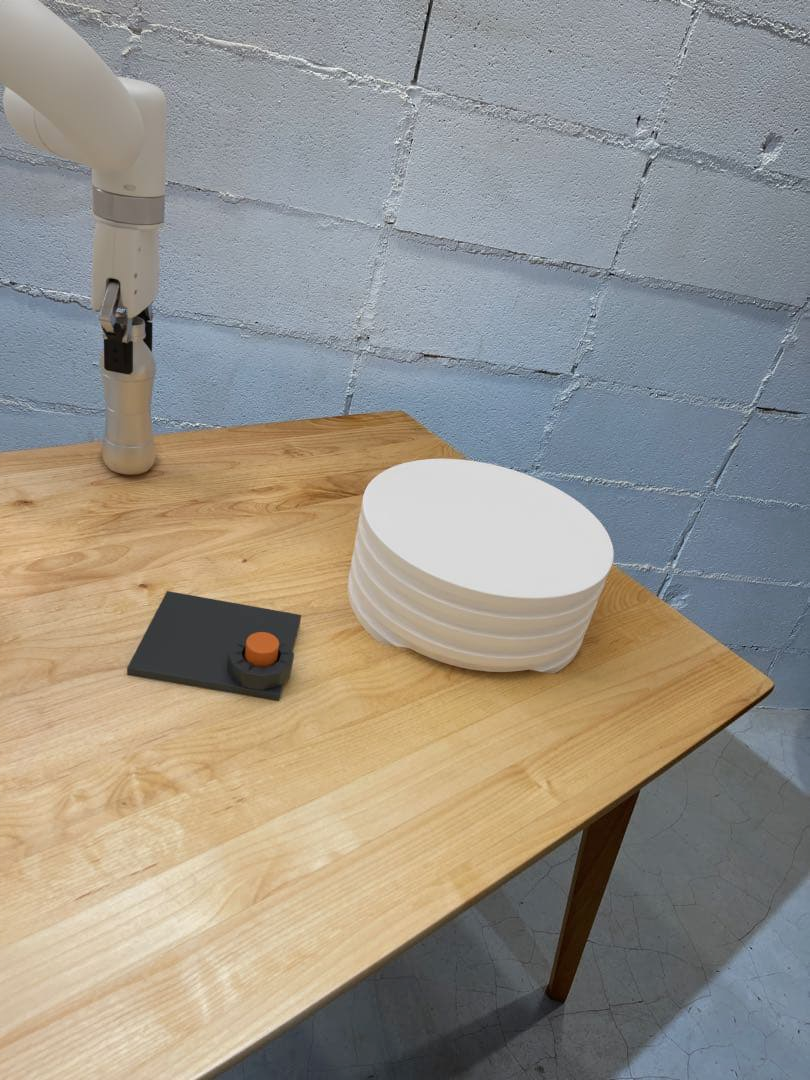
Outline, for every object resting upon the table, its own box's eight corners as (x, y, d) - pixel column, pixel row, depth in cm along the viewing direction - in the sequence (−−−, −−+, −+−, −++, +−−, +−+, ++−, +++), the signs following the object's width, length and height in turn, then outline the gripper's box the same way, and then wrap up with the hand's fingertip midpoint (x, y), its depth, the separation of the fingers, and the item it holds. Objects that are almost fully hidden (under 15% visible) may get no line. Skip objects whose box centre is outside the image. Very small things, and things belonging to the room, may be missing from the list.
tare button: (241, 664, 75) (243, 649, 74) (248, 643, 77) (250, 629, 76) (274, 670, 75) (275, 655, 74) (280, 649, 77) (281, 634, 76)
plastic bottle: (143, 485, 104) (144, 334, 93) (92, 473, 104) (88, 321, 94) (163, 464, 109) (167, 319, 99) (115, 452, 110) (113, 306, 99)
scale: (126, 685, 75) (126, 652, 73) (166, 607, 85) (167, 576, 83) (282, 712, 76) (287, 680, 73) (303, 631, 86) (307, 601, 84)
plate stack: (622, 616, 99) (655, 537, 93) (497, 727, 79) (528, 636, 73) (442, 513, 112) (461, 439, 106) (296, 586, 92) (308, 499, 86)
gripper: (122, 187, 96) (122, 333, 106) (62, 215, 82) (69, 381, 91) (185, 200, 97) (180, 344, 106) (137, 230, 82) (135, 394, 92)
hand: (128, 360), depth 99 cm, fingers closed on plastic bottle, 6 cm apart
